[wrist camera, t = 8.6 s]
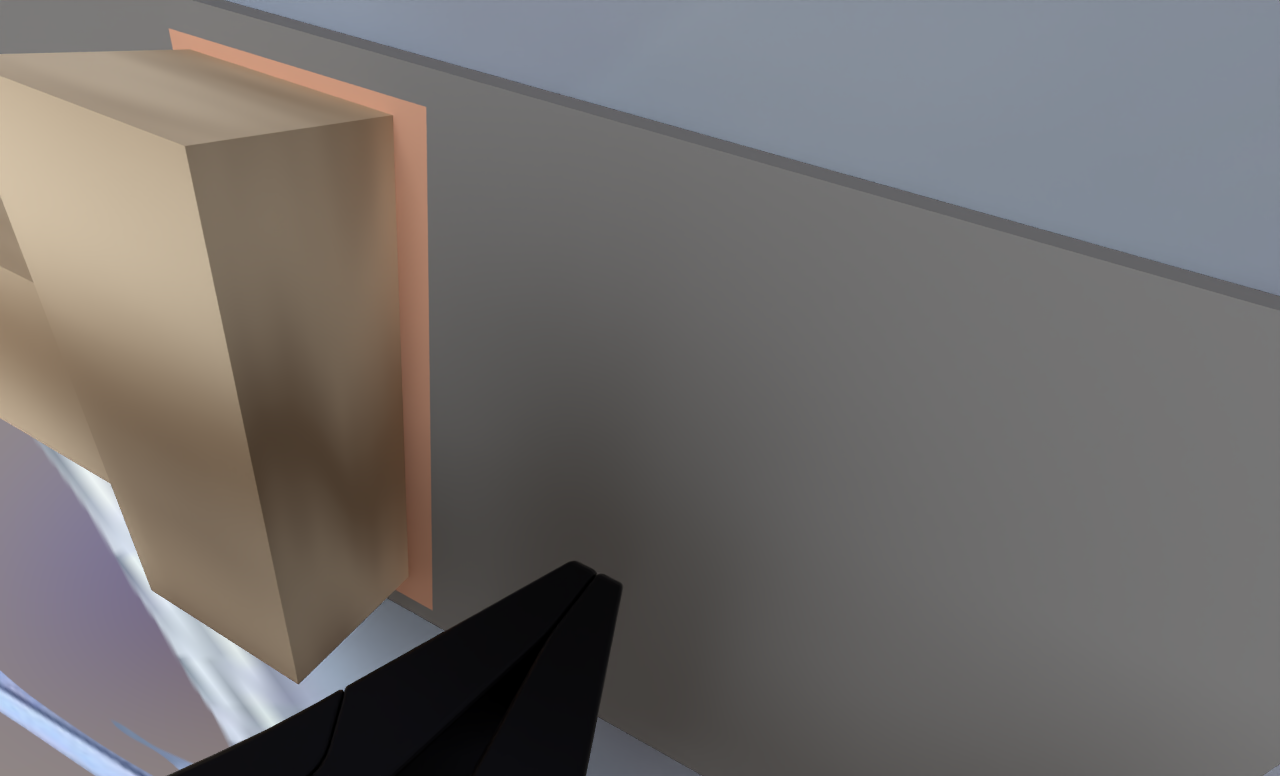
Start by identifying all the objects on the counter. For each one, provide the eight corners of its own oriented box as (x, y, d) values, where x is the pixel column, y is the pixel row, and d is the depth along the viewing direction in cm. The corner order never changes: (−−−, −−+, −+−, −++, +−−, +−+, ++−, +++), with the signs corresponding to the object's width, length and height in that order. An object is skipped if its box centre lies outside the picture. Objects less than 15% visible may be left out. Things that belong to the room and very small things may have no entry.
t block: (408, 576, 14) (298, 684, 12) (59, 383, 18) (-83, 439, 15) (392, 115, 9) (185, 146, 7) (-112, -49, 12) (-379, -69, 10)
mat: (1007, 912, 12) (1008, 948, 12) (79, 402, 19) (56, 411, 18) (1681, 408, 6) (1748, 444, 5) (-115, -95, 12) (-158, -100, 12)
